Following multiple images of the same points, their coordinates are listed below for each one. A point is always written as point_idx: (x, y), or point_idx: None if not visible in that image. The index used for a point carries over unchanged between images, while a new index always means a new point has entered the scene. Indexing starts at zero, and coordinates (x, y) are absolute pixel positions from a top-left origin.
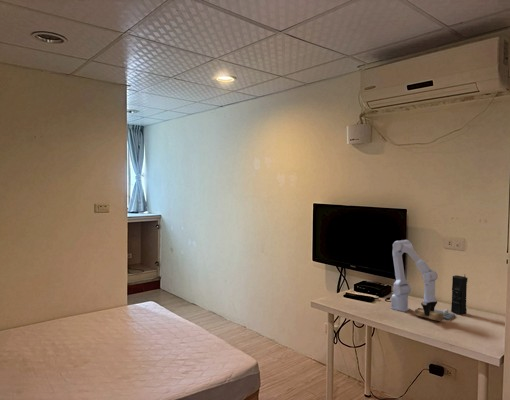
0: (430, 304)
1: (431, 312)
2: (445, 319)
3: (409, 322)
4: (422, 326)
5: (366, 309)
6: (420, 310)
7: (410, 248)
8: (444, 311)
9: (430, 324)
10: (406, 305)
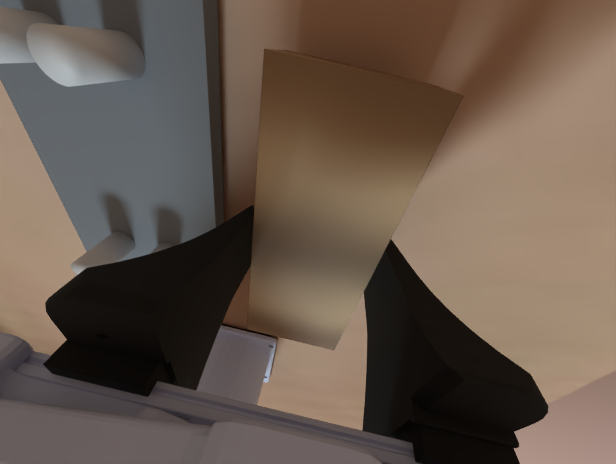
0: (211, 319)
1: (324, 233)
2: (217, 27)
3: (487, 316)
4: (589, 237)
5: (348, 426)
6: (322, 321)
7: None
8: (87, 62)
9: (497, 177)
10: (231, 367)
